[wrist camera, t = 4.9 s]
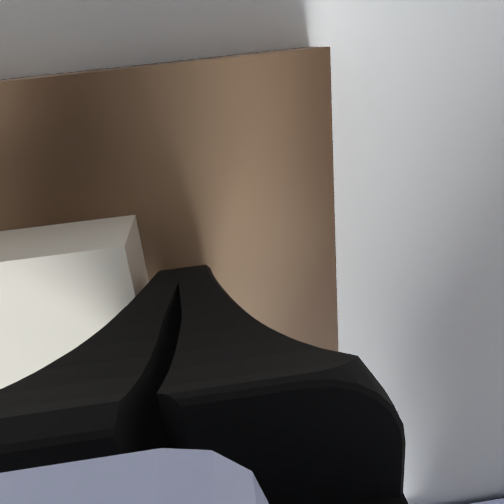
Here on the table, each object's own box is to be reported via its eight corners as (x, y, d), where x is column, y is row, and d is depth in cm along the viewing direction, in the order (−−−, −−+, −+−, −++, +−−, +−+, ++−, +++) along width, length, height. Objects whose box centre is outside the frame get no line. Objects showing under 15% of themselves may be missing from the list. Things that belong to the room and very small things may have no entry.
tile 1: (135, 214, 11) (124, 246, 10) (165, 367, 13) (161, 417, 11) (-58, 238, 11) (-107, 275, 9) (0, 390, 13) (-32, 446, 11)
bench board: (309, 46, 12) (329, 46, 10) (324, 386, 17) (340, 428, 15) (-168, 98, 12) (-237, 107, 10) (-20, 438, 16) (-48, 488, 14)
